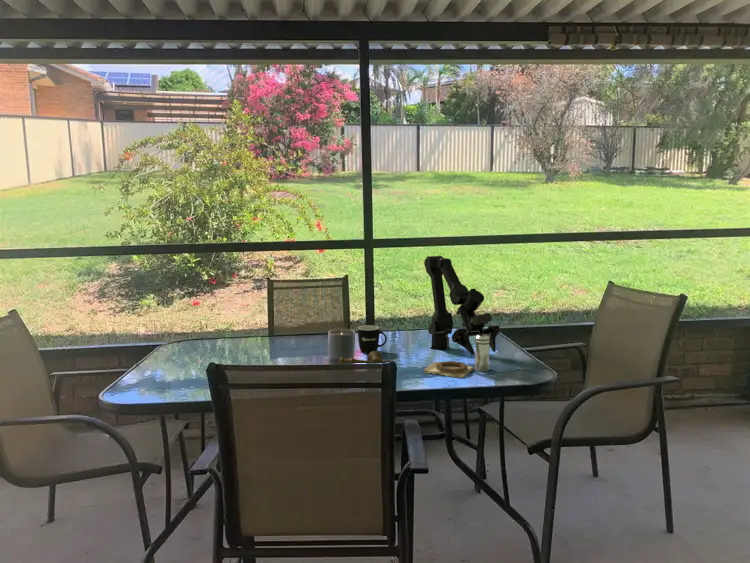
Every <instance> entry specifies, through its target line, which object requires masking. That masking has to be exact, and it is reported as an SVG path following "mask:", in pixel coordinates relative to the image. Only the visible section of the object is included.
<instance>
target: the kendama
mask: <svg viewBox="0 0 750 563" xmlns="http://www.w3.org/2000/svg"><path fill="white" fill-rule="evenodd" d="M390 361H392V360H389V359H387V360H385V359H384V356H383V354H382V352H381V351H378V350H377V351H373V352H371V353H368V355H367V360H366V359H356V358H353V357H349V358H344V357H343V356H340V357H339V363H384V364H387V363H386V362H390ZM390 363H391V362H390Z"/></svg>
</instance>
